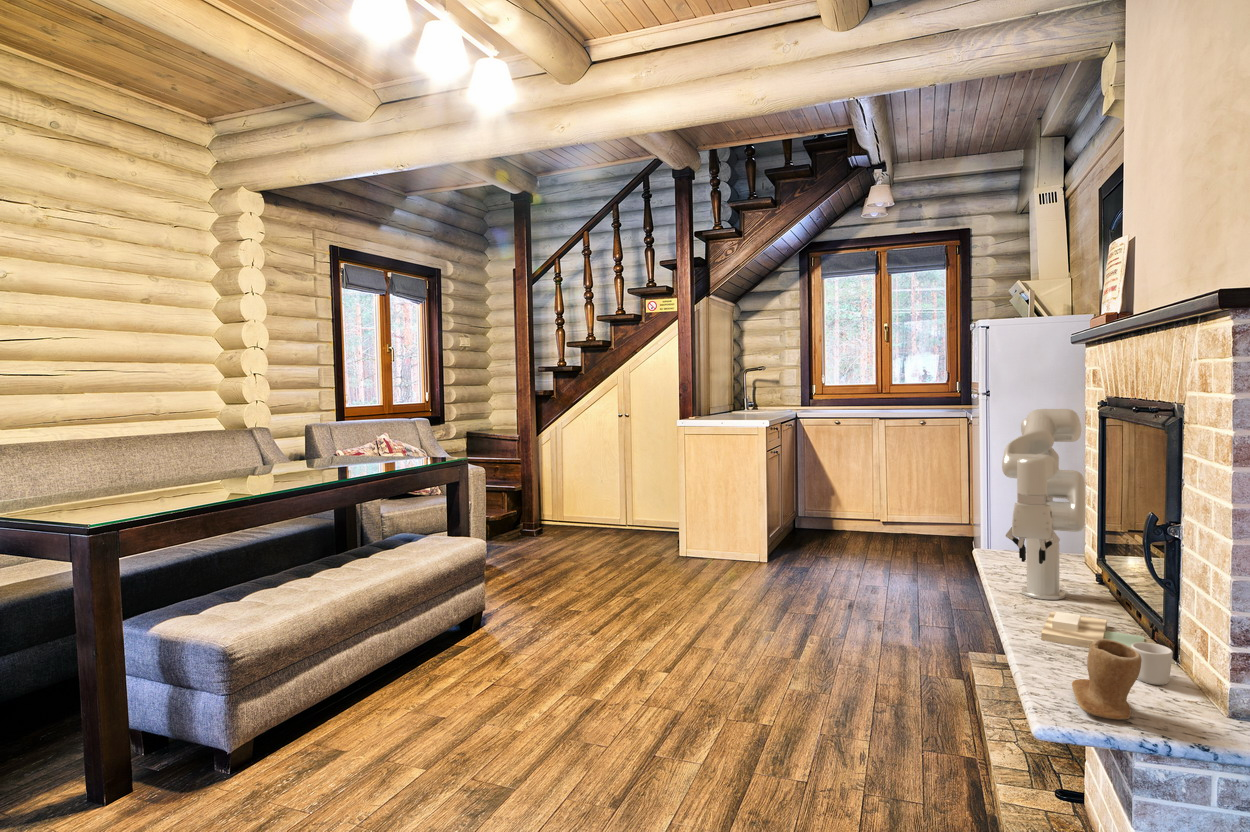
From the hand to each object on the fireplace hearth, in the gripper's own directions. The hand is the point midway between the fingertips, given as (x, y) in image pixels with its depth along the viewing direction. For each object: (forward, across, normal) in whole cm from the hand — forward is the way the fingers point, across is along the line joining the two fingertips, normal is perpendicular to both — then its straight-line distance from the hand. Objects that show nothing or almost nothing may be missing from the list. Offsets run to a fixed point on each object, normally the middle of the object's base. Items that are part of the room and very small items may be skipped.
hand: (1032, 561), depth 207 cm
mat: (+19, -22, +4) cm, 30 cm away
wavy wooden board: (+19, -10, 0) cm, 22 cm away
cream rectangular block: (+17, -8, 0) cm, 19 cm away
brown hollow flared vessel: (+20, -20, +50) cm, 57 cm away
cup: (+20, -28, +26) cm, 43 cm away
